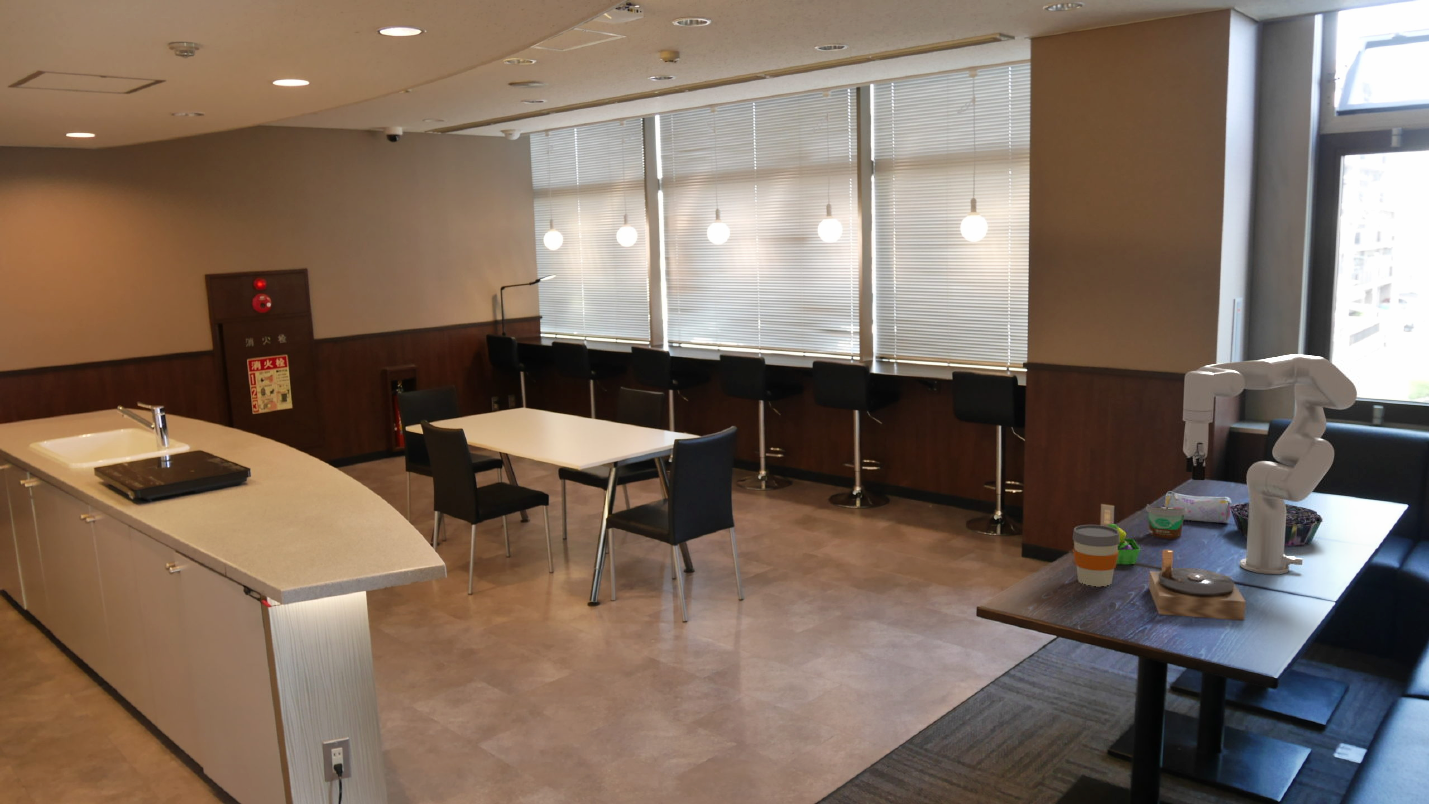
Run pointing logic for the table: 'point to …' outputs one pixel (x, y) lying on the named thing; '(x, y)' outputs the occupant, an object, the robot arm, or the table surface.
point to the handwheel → (1193, 579)
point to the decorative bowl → (1297, 523)
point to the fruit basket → (1126, 548)
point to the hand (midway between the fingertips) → (1195, 475)
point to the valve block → (1196, 602)
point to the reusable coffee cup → (1095, 553)
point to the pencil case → (1200, 507)
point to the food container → (1165, 521)
